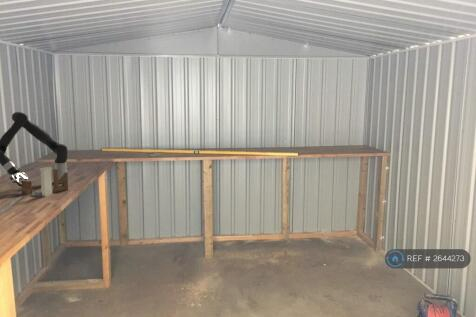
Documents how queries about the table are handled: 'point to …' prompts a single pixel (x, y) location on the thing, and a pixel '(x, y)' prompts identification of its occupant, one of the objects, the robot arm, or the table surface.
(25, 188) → the brown rectangular block
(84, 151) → the table surface
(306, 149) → the table surface
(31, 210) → the table surface
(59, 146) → the robot arm
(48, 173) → the grey stand
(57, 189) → the wooden rod assembly
